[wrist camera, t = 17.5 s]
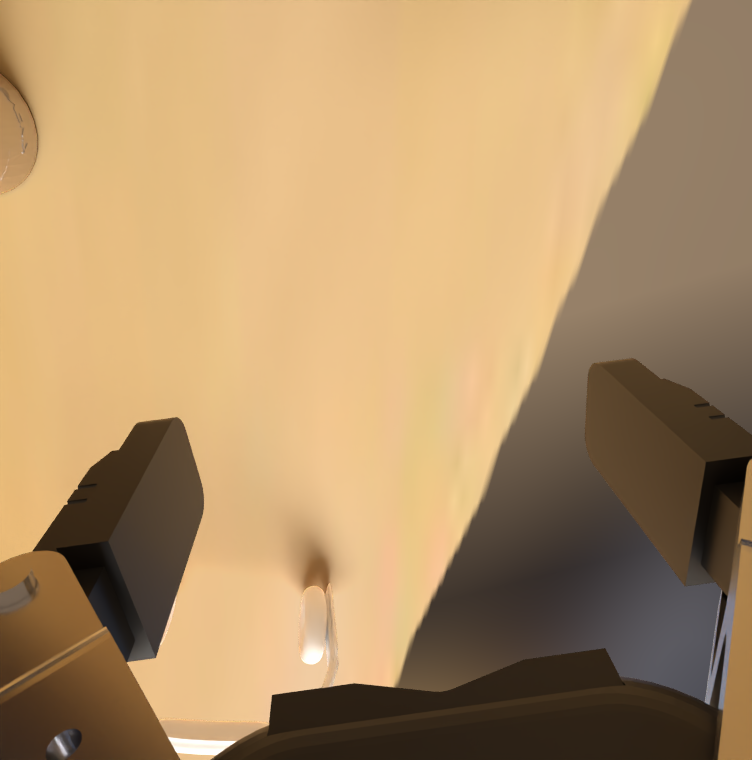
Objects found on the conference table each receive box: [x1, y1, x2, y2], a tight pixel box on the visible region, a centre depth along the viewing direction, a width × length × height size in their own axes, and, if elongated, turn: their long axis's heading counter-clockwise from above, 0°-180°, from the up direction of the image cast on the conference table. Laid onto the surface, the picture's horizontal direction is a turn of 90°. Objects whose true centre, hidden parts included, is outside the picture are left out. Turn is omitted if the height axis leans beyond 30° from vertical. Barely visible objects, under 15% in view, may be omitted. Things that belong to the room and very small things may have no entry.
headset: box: [159, 584, 338, 755], centre depth 51 cm, size 20×7×18 cm, turn 80°
